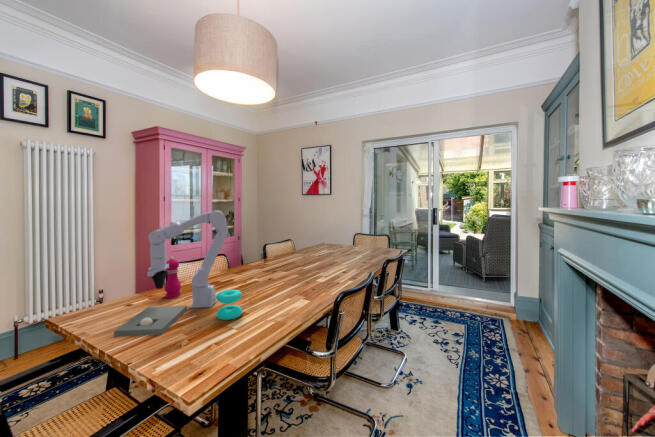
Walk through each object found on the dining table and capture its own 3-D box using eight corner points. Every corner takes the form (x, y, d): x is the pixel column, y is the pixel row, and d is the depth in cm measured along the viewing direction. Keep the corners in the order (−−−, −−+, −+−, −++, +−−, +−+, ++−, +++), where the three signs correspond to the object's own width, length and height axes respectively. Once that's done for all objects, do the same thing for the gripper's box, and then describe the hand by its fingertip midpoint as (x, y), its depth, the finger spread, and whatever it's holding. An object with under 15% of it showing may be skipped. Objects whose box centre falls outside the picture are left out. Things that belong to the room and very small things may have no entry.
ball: (147, 325, 100) (150, 331, 103) (153, 315, 103) (155, 321, 106) (136, 324, 100) (139, 331, 102) (141, 315, 103) (144, 321, 105)
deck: (187, 310, 120) (186, 305, 120) (162, 334, 98) (161, 328, 98) (148, 311, 119) (148, 306, 118) (114, 336, 97) (113, 330, 97)
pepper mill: (161, 297, 136) (159, 257, 134) (174, 293, 142) (173, 254, 141) (171, 299, 133) (170, 258, 132) (184, 294, 140) (183, 255, 138)
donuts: (213, 291, 115) (238, 287, 121) (214, 314, 116) (238, 309, 121) (218, 298, 107) (244, 293, 112) (219, 323, 107) (245, 317, 113)
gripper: (157, 254, 126) (158, 283, 127) (138, 261, 112) (140, 294, 113) (173, 254, 127) (174, 283, 128) (157, 261, 113) (158, 293, 114)
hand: (159, 288), depth 120 cm, fingers closed
